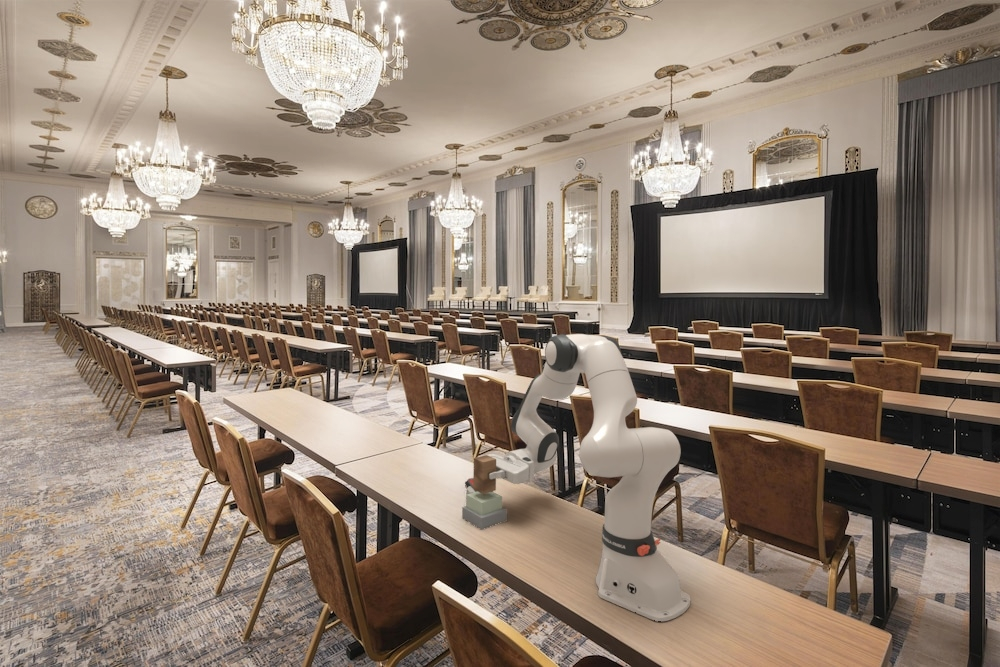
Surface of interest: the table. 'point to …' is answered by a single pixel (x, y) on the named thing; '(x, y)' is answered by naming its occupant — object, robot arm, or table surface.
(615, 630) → the table surface
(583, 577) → the table surface
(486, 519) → the tower base block
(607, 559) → the robot arm
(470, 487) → the walkie-talkie
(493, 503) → the tower top block
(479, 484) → the walnut pillar
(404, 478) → the table surface
